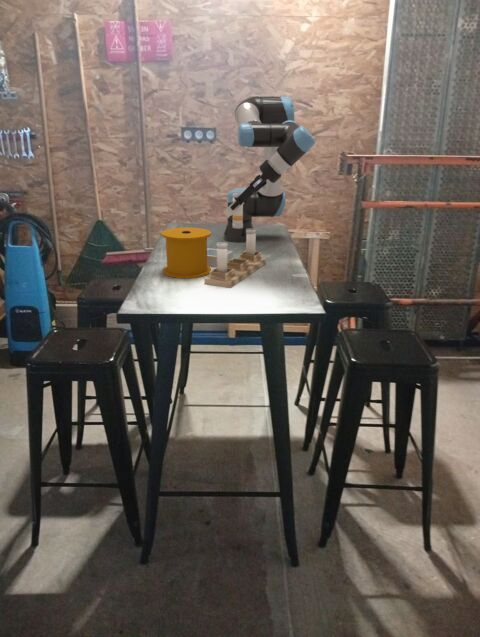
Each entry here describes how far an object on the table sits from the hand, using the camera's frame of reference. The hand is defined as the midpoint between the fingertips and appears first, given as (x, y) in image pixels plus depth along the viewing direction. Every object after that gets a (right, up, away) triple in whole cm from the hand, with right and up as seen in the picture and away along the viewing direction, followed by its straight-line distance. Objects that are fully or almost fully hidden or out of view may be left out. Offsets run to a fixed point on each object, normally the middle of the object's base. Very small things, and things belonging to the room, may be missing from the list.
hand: (227, 213), depth 173 cm
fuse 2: (+9, -14, +18) cm, 24 cm away
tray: (-6, -15, +21) cm, 26 cm away
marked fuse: (+4, -5, +1) cm, 6 cm away
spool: (-15, -20, +9) cm, 27 cm away
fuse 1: (-2, -23, -4) cm, 24 cm away
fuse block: (+3, -21, +7) cm, 22 cm away
